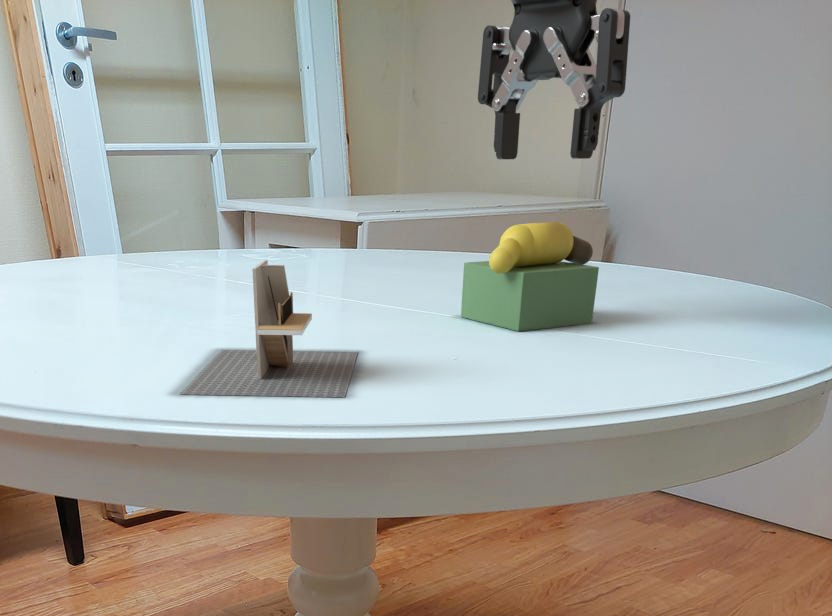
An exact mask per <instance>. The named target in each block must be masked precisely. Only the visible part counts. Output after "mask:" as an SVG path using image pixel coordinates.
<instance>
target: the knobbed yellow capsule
mask: <svg viewBox="0 0 832 616" xmlns="http://www.w3.org/2000/svg"><path fill="white" fill-rule="evenodd" d="M593 254H594V249H593V245H592V244H591V243H590V242H589V241H587V240H585V239H582V238H580V237H578V236H576V235H573V233H572V230H571V228H570V227H569V226H568V225H566V224H565V223H564V222H560V221H547V222H533V223H518V224H514V225H512V226H510V227H508V228H507V229H506V230H505V231H504V232H503V233H502V235H501V237H500V240H499V243H498V246H496V248H495V249H494V250H493V251H492V252H491V253H490V256H489V259H488V261H489V265H490V267H491V269H492V270H493V271H494V272H495V273H498V274H503V273H506V272H508V271H509V270H510V269H511V268H512V267H524V266H534V265H543V264H553V263H558V262H560V261H561V262H563V261H565V262H568V263H575V264H582V265H587V263H589V262H590V261H591V260H592V257H593Z"/></svg>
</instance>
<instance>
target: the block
mask: <svg viewBox="0 0 832 616" xmlns="http://www.w3.org/2000/svg"><path fill="white" fill-rule="evenodd" d="M599 271H600V267H599V266H594V265H587V264H583V265H582V264H575V263H571V262H569V261H560V262H558V263H553V264H543V265H534V266H524V267H512V268H511V269H510V270H509V271H508V272H506V273H503V274H498V273H495V272H494V271H493V270H492V269H491V267H490V265H489V260H482V261H481V260H480V261H468V262H464V263H463V275H462V290H461V292H462V293H461V308H460V309H461V311H460V317H461V318H464V319H468V320H471V321H476V322H480V323H483V324H488V325H492V326H496V327H500V328H503V329H508V330H511V331H515V332H523V331H524V332H525V331H533V330H542V329H551V328H560V327H568V326H569V327H570V326H577V325H587V324H588V325H589V324H591V323H593V319H594V318H593V317H594V309H595V302H596V294H597V287H598V279H599V278H598V277H599Z"/></svg>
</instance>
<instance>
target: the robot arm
mask: <svg viewBox="0 0 832 616" xmlns="http://www.w3.org/2000/svg"><path fill="white" fill-rule="evenodd" d="M510 2H511V3H512V5H513V9H514V13H513V18H512V21H511V25H510V26H503V25H495V24H494V25H492V24H491V25H489V24H488V25H486V26H485V28H484V29H483V33H482V42H481V43H482V44H481V56H480V67H479V80H478V88H477V89H478V90H477V102H478V103H479V104H480V105H486V106H487V107H489V108H490V109H492V110H493V112H494V134H493V150H494V152H495V156H496V159H497V160H515V159H516V158H517V157H518V150H519V139H520V138H519V135H520V122H521V121H520V120H521V113H520V112H517V111H518V110H519V109H520V107H521V105H522V103H523V101H524V99H525V97H526V96H527V94H528V92H529V91H531V90H532V89H533V88H535V86H536V84H537V83H538V81H547V80H551V79H562V81H563V82H564V83H565V85H567V86H568V87H569V88H570V90H571V93H572V95H573V97H574V100H575V102H576V104H577V106H578V108H574V110H573V121H572V132H571V142H570V153H569V154H570V157H571V159H573V160H580V159H584V160H586V159H587V160H588V159H591V158H592V156H593V155H594V154H593V153H594V151H596V149H597V147H598V142H599V134H600V125H601V116H602V109H603V107H604V105H605V104H607V102H609V101H611V100H613V99H615V98H621V97H622V96H623V95H624V93H625V91H626V84H627V83H626V81H627V71H628V70H627V67H628V57H629V56H628V54H629V43H630V30H631V29H630V27H631V13H630V12H629V11H628V10H625V9H617V8H610V7H605V8H603V10H602V11H601V12H600V13H598V10H597V3H598V0H510ZM594 40H596V43H597V53H596V62H595V60H594V57H593V55H592V52H591V50H590V49H589V48H590V46H591V45H592V43H593V41H594ZM511 52H513V53H512V55H511ZM510 55H511V56H510Z"/></svg>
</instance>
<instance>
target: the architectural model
mask: <svg viewBox="0 0 832 616" xmlns="http://www.w3.org/2000/svg"><path fill="white" fill-rule="evenodd" d="M286 273H287V272H286V268H285V265H284V264H269V261H268V259H264V260H262V261H261V262H259V263H258V264H256V266H254V267H253V268H252V287H253V307H254V308H253V309H254V324H255V327H254V329H255V347H256V348H255V349H221V350H220V351H219V352H218V353H217V354H216V355H215V356H214V358H212V359H211V361H210V362H209V363H208V364H206V365H205V367H204V368H203V369H202V370H201V371H200V372H199V373H198V374H197V375H196V376H195V377H194V378H193V379H192V380H191V382H189V384H188V385H186V387H185V388H183V389H182V391H181V392H180V393H179V395H197V396H199V395H201V396H202V395H205V396H209V395H210V396H254V397H255V396H256V397H257V396H260V397H261V396H263V397H313V398H346V394H347V391H348V387H349V385H350V380H351V376H352V373H353V370H354V366H355V363H356V359H357V356H358V352H359V351H333V350H332V351H330V350H329V351H328V350H327V351H325V350H294V346H293V345H294V340H293V337H294V336H303V335H304V332H305V330H306V329H307V328H308V326H309V325H310V323H311V321H312V319H313V313H309V312H308V313H307V312H305V313H302V312H301V313H300V312H299V313H298V312H297V313H296V312H294V294H293V292H292V291H291V292H290V291H289V285H288V280H287V279H288V278H287V274H286Z"/></svg>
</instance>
